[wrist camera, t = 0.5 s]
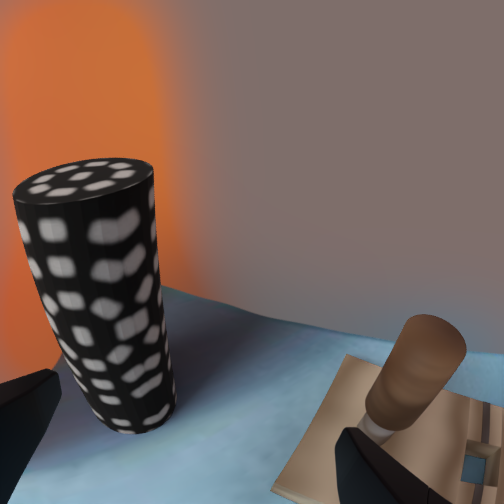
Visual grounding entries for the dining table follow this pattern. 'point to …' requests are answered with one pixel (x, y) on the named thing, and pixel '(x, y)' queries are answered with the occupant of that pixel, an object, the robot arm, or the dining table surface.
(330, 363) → the dining table surface
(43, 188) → the spotted tube
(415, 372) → the brown wooden peg
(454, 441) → the board
